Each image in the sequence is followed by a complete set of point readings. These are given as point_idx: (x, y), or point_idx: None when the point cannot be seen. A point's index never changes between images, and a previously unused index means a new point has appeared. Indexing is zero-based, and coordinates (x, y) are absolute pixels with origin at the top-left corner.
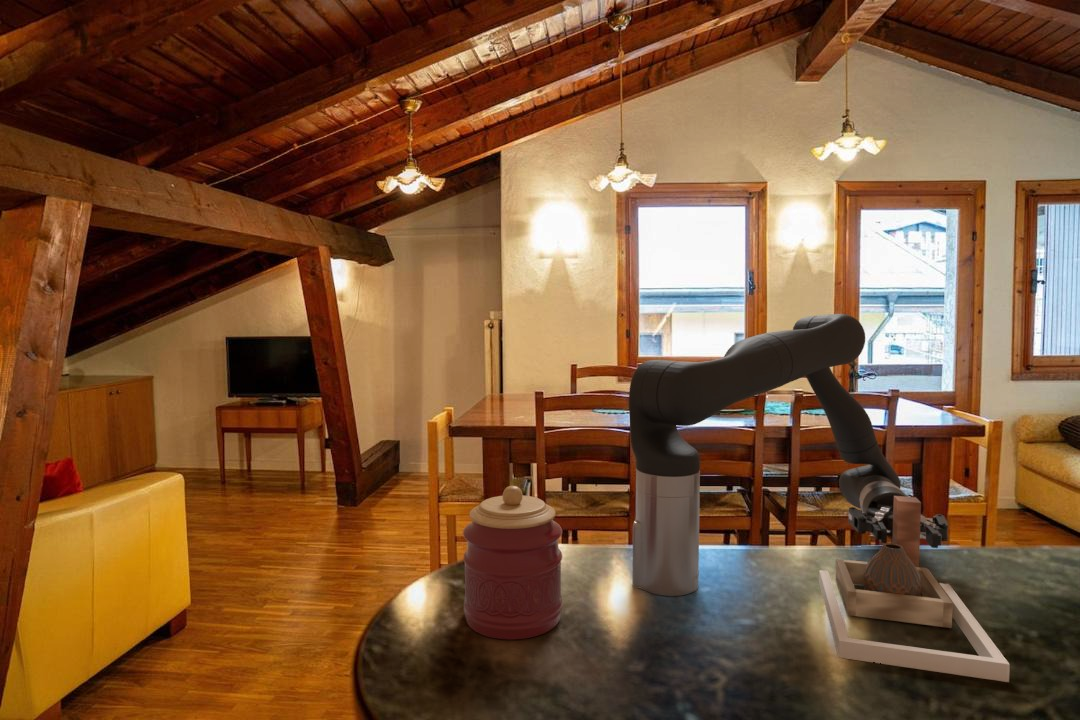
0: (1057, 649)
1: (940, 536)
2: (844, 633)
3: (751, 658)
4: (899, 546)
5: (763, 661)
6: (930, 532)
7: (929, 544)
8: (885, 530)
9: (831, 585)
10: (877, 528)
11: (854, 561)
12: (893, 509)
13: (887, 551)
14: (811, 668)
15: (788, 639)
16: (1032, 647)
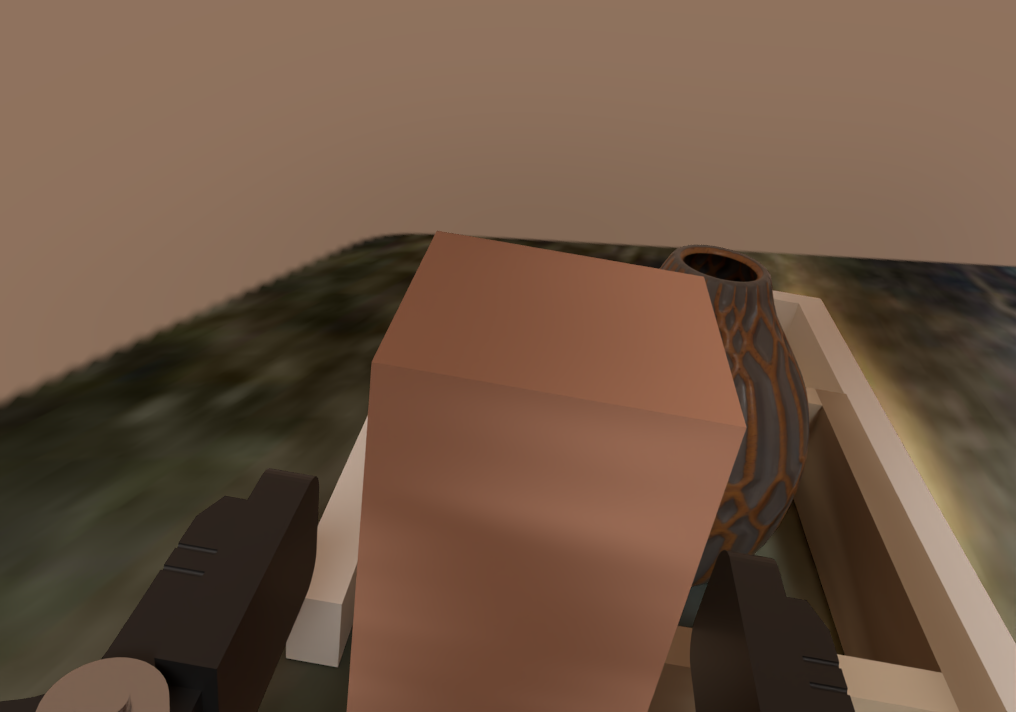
0: (173, 346)
1: (230, 500)
2: (813, 315)
3: (987, 342)
4: (687, 265)
5: (958, 335)
6: (291, 534)
7: (282, 649)
8: (735, 553)
9: (927, 548)
10: (808, 651)
11: (879, 687)
12: (679, 611)
13: (744, 271)
14: (856, 318)
15: (944, 390)
16: (249, 354)
